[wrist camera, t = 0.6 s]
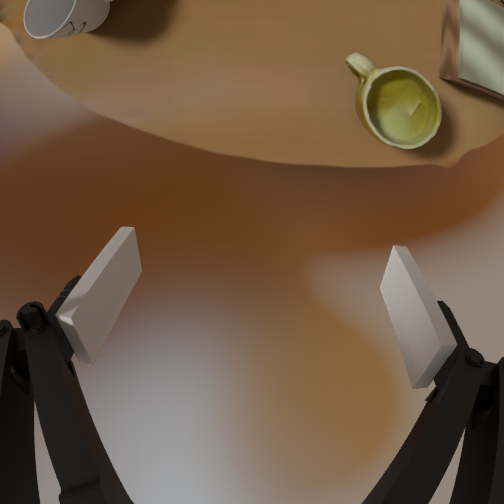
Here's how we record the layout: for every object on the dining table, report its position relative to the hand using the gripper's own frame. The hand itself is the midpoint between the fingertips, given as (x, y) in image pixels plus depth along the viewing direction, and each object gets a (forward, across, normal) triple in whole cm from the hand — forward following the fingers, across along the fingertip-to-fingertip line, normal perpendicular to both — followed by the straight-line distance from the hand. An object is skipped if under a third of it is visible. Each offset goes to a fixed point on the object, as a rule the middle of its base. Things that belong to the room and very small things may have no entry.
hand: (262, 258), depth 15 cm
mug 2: (+27, +13, +8) cm, 31 cm away
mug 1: (+27, -24, +20) cm, 41 cm away
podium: (+27, +29, +19) cm, 44 cm away
